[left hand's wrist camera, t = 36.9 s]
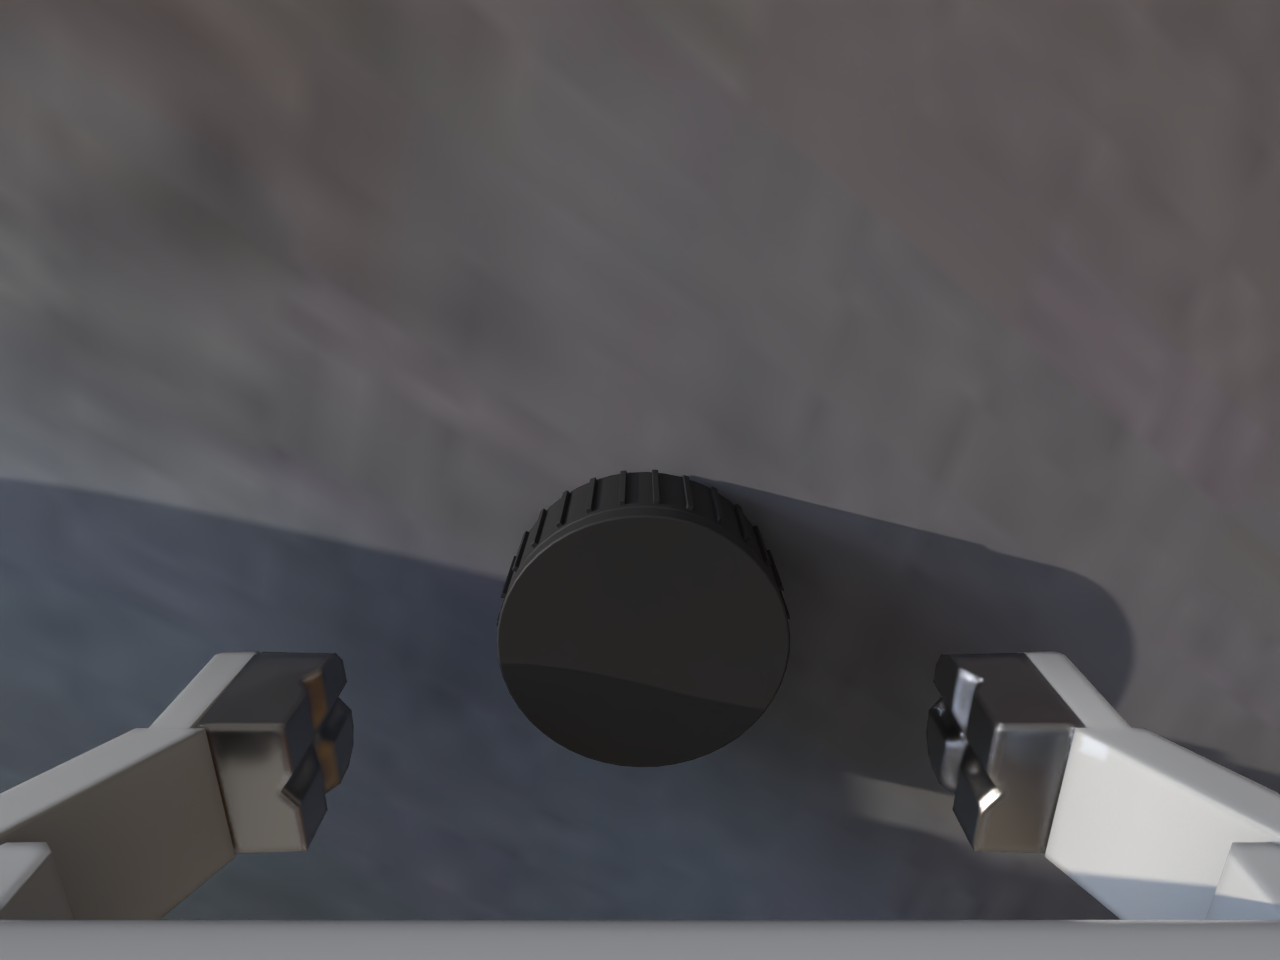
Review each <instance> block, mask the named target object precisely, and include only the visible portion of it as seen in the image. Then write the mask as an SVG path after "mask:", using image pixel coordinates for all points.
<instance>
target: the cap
mask: <svg viewBox="0 0 1280 960" xmlns="http://www.w3.org/2000/svg"><path fill="white" fill-rule="evenodd" d="M781 591H784V589H783V586H782V583H781V581H780V578H779V575H778V572H777V569H776V566H775V564H774V561H773V558H772V555H771V552H770V550H767V551H766V548H765V545H764V542H763V539H762V536H761V533H760V530H759V528H758V527H757V525H756V526H754V527H753V526H752V524H751V523H750V522H749V521H748V520H747V518H746V517H745V516H744V515H743V513H742V510H741V507H740V506H739V505H738V504H736V505H735V506H734V505H733V504H732V503H731V502H729V501H728V500H727V499H725V498H724V497H722V496H721V495H719V494H718V492H717V489H716V488H714V487H712V488H711V489H709V488H707V487H705V486H703V485H701V484H699V483H696V482H694V481H691V480H689V477H688V476H685V475H683V478H682V477H678V476H673V475H668V474H662V473H658V470H652V473H650V472H639V473H627V472H626V471H621V474H619V475H612V476H609V477H605V478H602V479H598V480H596V478H592V479H590V483H588V484H585V485H583V486H581V487H578V488H577V489H575V490H573V491H572V492H570V493H569V492H568V491H566V492H564V493H563V496H562V498H561V499H560V500H558V501H557V502H556V503H555V504H553V505H552V506H551V507H550V508H549V509H548V510H547V511H546V510H545V509H543V510H542V511H541V512H540V515H539V519H538V521H537V522H536V524H535V525H534V526H533V528H532V529H531V530H530V532H527V531H526V532H525V533H524V535H523V538H522V541H521V544H520V547H519V550H518V553H517V556H514V558H513V561H512V564H511V567H510V570H509V573H508V576H507V579H506V582H505V585H504V588H503V591H502V594H501V598H504V601H503V604H502V607H501V610H500V613H499V617H498V620H497V626H498V628H497V651H498V660H499V664H500V668H501V672H502V675H503V678H504V681H505V683H506V685H507V687H508V690H509V692H510V694H511V696H512V697H513V699H514V700H515V702H516V704H517V705H518V707H519V708H520V710H521V711H522V712H523V713H524V714H525V716H526V717H527V718H528V719H529V720H530V721H531V722H532V723H533V724H534V725H535V726H536V727H537V728H538V729H539V730H540V731H541V732H542V733H544V734H545V735H547V736H548V737H549V738H551V739H552V740H553V741H555V742H556V743H558V744H560V745H562V746H563V747H565V748H567V749H569V750H571V751H573V752H575V753H578V754H580V755H582V756H585V757H587V758H590V759H594V760H597V761H600V762H604V763H609V764H615V765H620V766H632V767H657V766H665V765H672V764H677V763H681V762H685V761H690V760H693V759H696V758H699V757H701V756H704V755H707V754H709V753H711V752H713V751H715V750H717V749H719V748H721V747H723V746H725V745H727V744H728V743H730V742H731V741H733V740H734V739H736V738H737V737H739V736H740V735H741V734H742V733H744V732H745V731H746V730H747V729H748V728H750V727H751V726H752V725H753V724H754V723H755V722H756V721H757V719H758V718H759V717H760V716H761V715H762V714H763V713H764V712H765V710H766V709H767V707H768V706H769V704H770V703H771V702H772V700H773V698H774V697H775V695H776V693H777V691H778V689H779V687H780V685H781V682H782V680H783V677H784V674H785V671H786V668H787V662H788V657H789V650H790V631H789V623H788V619H789V612H788V610H787V607H786V604H785V601H784V598H783V595H782V592H781Z"/></svg>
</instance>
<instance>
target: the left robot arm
mask: <svg viewBox="0 0 1280 960" xmlns="http://www.w3.org/2000/svg"><path fill="white" fill-rule="evenodd" d="M346 682H347V680H346V675H345V670H344V665H343V660H342V659H341V658H340V657H339V656H338V655H337V654H336V653H291V652H262V653H260V652H223V653H219V654H216V655H215V656H214V657H213V658H212V659H211V660H210V661H209V662H208V663H207V664H206V665H205V667H204V668H203V669H202V670H201V671H200V672H199V673H198V674H197V675H196V676H195V677H194V679H193V680H192V681H191V682H190V683H189V684H188V685H187V686H186V687H185V688H184V690H183V691H182V692H181V693H180V694H179V695H178V696H177V697H176V698H175V699H174V701H173V702H172V703H171V704H170V705H169V706H168V707H167V708H166V709H165V710H164V711H163V713H162V714H161V715H160V716H159V717H158V718H157V719H156V720H155V721H154V722H153V724H152V725H151V726H150V727H149V728H135V729H133V730H131V731H129V732H127V733H125V734H123V735H121V736H118V737H116V738H114V739H112V740H110V741H108V742H106V743H104V744H102V745H100V746H98V747H96V748H94V749H92V750H89V751H87V752H85V753H83V754H81V755H79V756H77V757H75V758H73V759H71V760H69V761H67V762H65V763H63V764H60V765H58V766H56V767H54V768H52V769H50V770H48V771H46V772H44V773H42V774H40V775H38V776H36V777H34V778H31V779H29V780H27V781H25V782H23V783H21V784H19V785H17V786H15V787H13V788H11V789H9V790H7V791H5V792H2V793H0V960H1280V794H1279V793H1277V792H1275V791H1273V790H1271V789H1269V788H1267V787H1265V786H1263V785H1261V784H1259V783H1257V782H1255V781H1252V780H1250V779H1248V778H1246V777H1244V776H1242V775H1240V774H1238V773H1236V772H1234V771H1232V770H1230V769H1228V768H1226V767H1224V766H1221V765H1219V764H1217V763H1215V762H1213V761H1211V760H1209V759H1207V758H1205V757H1203V756H1201V755H1199V754H1197V753H1195V752H1193V751H1191V750H1188V749H1186V748H1184V747H1182V746H1180V745H1178V744H1176V743H1174V742H1172V741H1170V740H1168V739H1166V738H1164V737H1162V736H1160V735H1157V734H1155V733H1153V732H1151V731H1149V730H1147V729H1145V728H1131V727H1130V726H1129V725H1128V723H1127V722H1126V721H1125V720H1124V719H1123V718H1122V717H1121V716H1120V715H1119V714H1118V712H1117V711H1116V710H1115V709H1114V708H1113V707H1112V706H1111V705H1110V704H1109V703H1108V701H1107V700H1106V699H1105V698H1104V697H1103V696H1102V695H1101V694H1100V693H1099V692H1098V691H1097V689H1096V688H1095V687H1094V686H1093V685H1092V684H1091V683H1090V682H1089V681H1088V680H1087V678H1086V677H1085V676H1084V675H1083V674H1082V673H1081V672H1080V671H1079V670H1078V669H1077V667H1076V666H1075V665H1074V664H1073V663H1072V662H1071V661H1070V660H1069V659H1068V658H1067V656H1066V655H1063V654H1061V653H1059V652H1057V651H1047V652H1019V653H994V654H948V655H941V656H940V658H939V660H938V662H937V664H936V669H935V674H934V680H933V682H934V684H935V686H936V687H937V689H938V691H939V692H940V694H941V696H942V697H941V698H940V699H939V700H938V701H937V702H936V703H935V704H934V705H933V706H932V707H931V708H930V709H929V712H928V721H927V729H926V736H927V747H928V755H929V758H930V762H931V765H932V769H933V771H934V773H935V775H936V777H937V779H938V781H939V783H940V784H941V785H943V786H944V787H946V788H947V789H949V790H950V791H951V792H953V793H954V794H955V798H954V804H953V811H954V813H955V815H956V817H957V819H958V821H959V823H960V825H961V827H962V829H963V831H964V833H965V835H966V837H967V839H968V841H969V843H970V845H971V847H972V849H973V851H986V852H1022V853H1045V857H1046V858H1047V859H1048V860H1050V861H1051V862H1052V863H1053V864H1054V865H1056V866H1057V867H1058V868H1059V869H1060V870H1062V871H1063V872H1064V873H1065V874H1066V875H1068V876H1069V877H1070V878H1071V879H1072V880H1074V881H1075V882H1076V883H1077V884H1078V885H1080V886H1081V887H1082V888H1083V889H1085V890H1086V891H1087V892H1088V893H1089V894H1091V895H1092V896H1093V897H1094V898H1095V899H1097V900H1098V901H1099V902H1100V903H1101V904H1103V905H1104V906H1105V907H1106V908H1107V909H1109V910H1110V911H1111V912H1112V913H1114V914H1115V915H1116V916H1117V917H1118V918H1120V919H1121V920H160V919H161V918H162V917H163V916H164V915H166V914H167V913H168V912H169V911H170V910H172V909H173V908H174V907H175V906H176V905H178V904H179V903H180V902H181V901H183V900H184V899H185V898H186V897H187V896H189V895H190V894H191V893H192V892H193V891H195V890H196V889H197V888H198V887H199V886H201V885H202V884H203V883H204V882H206V881H207V880H208V879H209V878H210V877H212V876H213V875H214V874H215V873H216V872H218V871H219V870H220V869H221V868H222V867H224V866H225V865H226V864H227V863H229V862H230V861H231V860H232V859H233V858H235V853H257V852H292V851H307V849H308V847H309V845H310V843H311V841H312V839H313V837H314V835H315V833H316V831H317V829H318V827H319V825H320V823H321V821H322V819H323V817H324V815H325V813H326V811H327V804H326V798H325V794H326V793H327V792H329V791H330V790H332V789H333V788H334V787H336V786H337V785H339V784H340V783H341V781H342V779H343V777H344V775H345V773H346V771H347V769H348V766H349V762H350V757H351V753H352V748H353V733H354V725H353V718H352V711H351V709H350V708H349V707H348V706H347V705H346V704H345V703H344V702H343V701H342V700H341V699H340V698H339V697H338V696H339V694H340V693H341V691H342V689H343V687H344V686H345V684H346Z"/></svg>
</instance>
